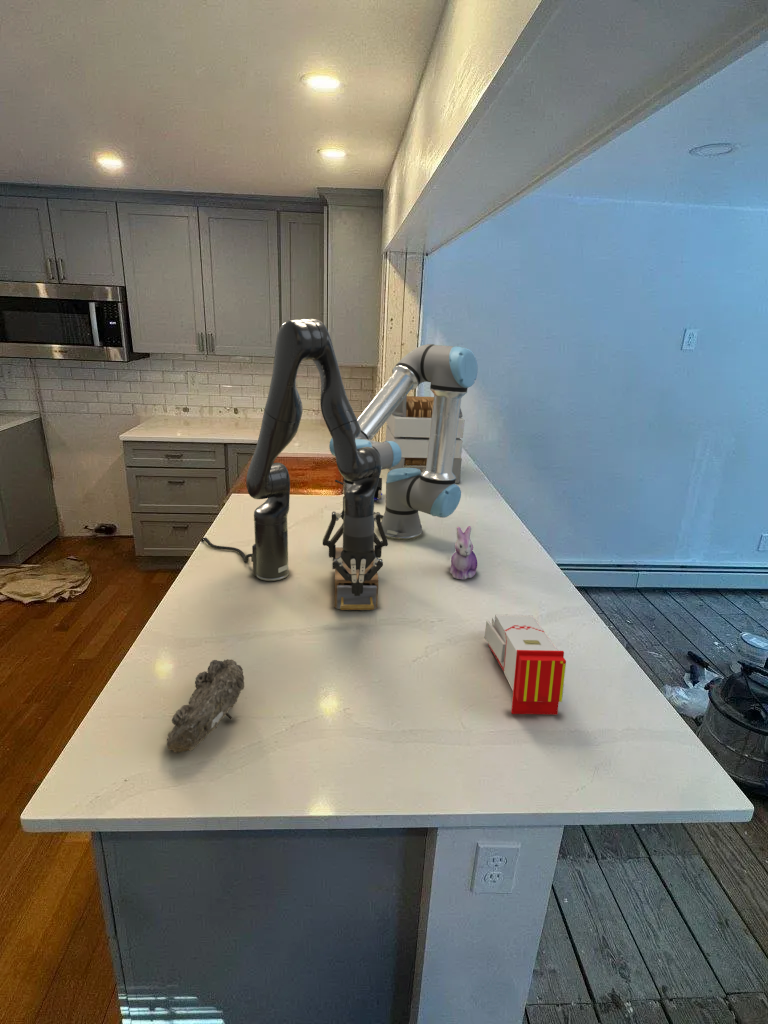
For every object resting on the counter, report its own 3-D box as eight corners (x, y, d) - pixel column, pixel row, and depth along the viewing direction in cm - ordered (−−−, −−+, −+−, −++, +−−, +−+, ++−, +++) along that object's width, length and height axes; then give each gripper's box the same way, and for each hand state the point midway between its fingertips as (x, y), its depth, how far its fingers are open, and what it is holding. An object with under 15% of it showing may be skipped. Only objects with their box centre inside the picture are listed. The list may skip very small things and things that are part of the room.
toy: (530, 600, 137) (574, 657, 108) (525, 651, 140) (567, 720, 111) (480, 599, 137) (511, 656, 107) (477, 651, 139) (506, 719, 110)
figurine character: (382, 507, 229) (381, 492, 243) (383, 490, 226) (382, 475, 239) (365, 506, 229) (366, 491, 242) (366, 489, 226) (366, 475, 239)
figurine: (459, 583, 165) (464, 535, 160) (440, 569, 174) (444, 523, 169) (486, 577, 169) (491, 531, 164) (466, 564, 178) (470, 519, 173)
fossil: (192, 660, 117) (244, 628, 112) (224, 691, 120) (276, 661, 115) (142, 746, 98) (202, 712, 93) (182, 779, 101) (242, 748, 96)
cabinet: (377, 607, 150) (378, 579, 147) (334, 607, 149) (335, 579, 146) (372, 573, 170) (373, 547, 167) (335, 572, 169) (335, 547, 166)
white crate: (382, 463, 289) (386, 382, 275) (445, 464, 293) (451, 384, 279) (390, 482, 257) (394, 392, 243) (460, 483, 261) (468, 394, 247)
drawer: (376, 619, 142) (377, 597, 140) (336, 619, 142) (337, 597, 140) (371, 575, 166) (372, 555, 164) (337, 575, 165) (337, 555, 163)
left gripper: (330, 535, 132) (330, 601, 138) (387, 536, 133) (384, 601, 139) (331, 524, 139) (330, 587, 145) (384, 524, 140) (382, 587, 146)
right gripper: (313, 499, 153) (313, 572, 160) (400, 500, 155) (396, 573, 162) (314, 491, 160) (314, 561, 167) (397, 492, 162) (394, 562, 169)
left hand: (357, 594), depth 142 cm, fingers closed
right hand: (354, 567), depth 165 cm, fingers closed on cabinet, 11 cm apart
